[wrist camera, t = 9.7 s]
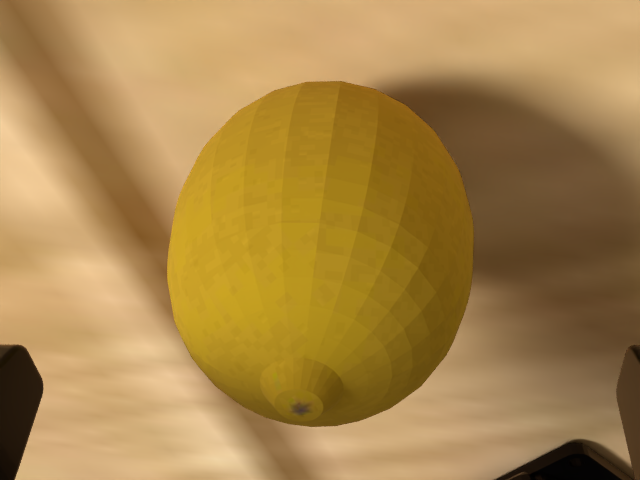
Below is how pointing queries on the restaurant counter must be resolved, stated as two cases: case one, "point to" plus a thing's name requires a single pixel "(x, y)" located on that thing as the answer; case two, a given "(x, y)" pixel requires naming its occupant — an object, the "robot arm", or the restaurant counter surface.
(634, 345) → the robot arm
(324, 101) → the lemon
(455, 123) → the restaurant counter surface
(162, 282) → the restaurant counter surface
